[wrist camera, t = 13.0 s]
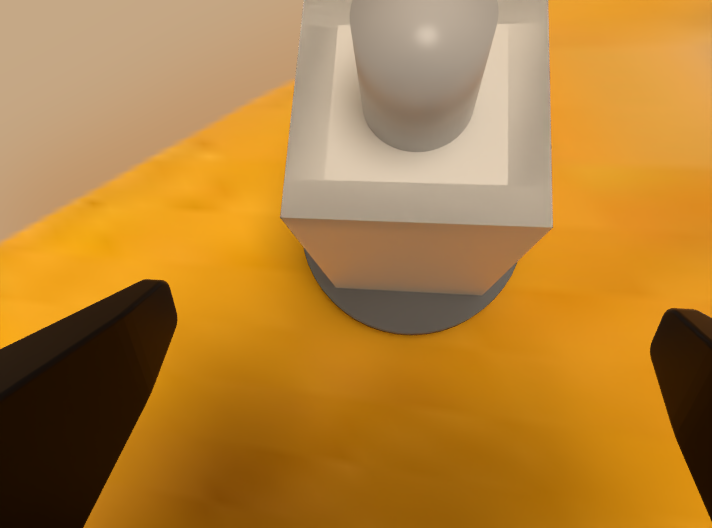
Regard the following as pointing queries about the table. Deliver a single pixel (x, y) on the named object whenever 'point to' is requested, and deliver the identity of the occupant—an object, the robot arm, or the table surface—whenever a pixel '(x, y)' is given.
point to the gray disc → (406, 305)
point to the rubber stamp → (420, 141)
